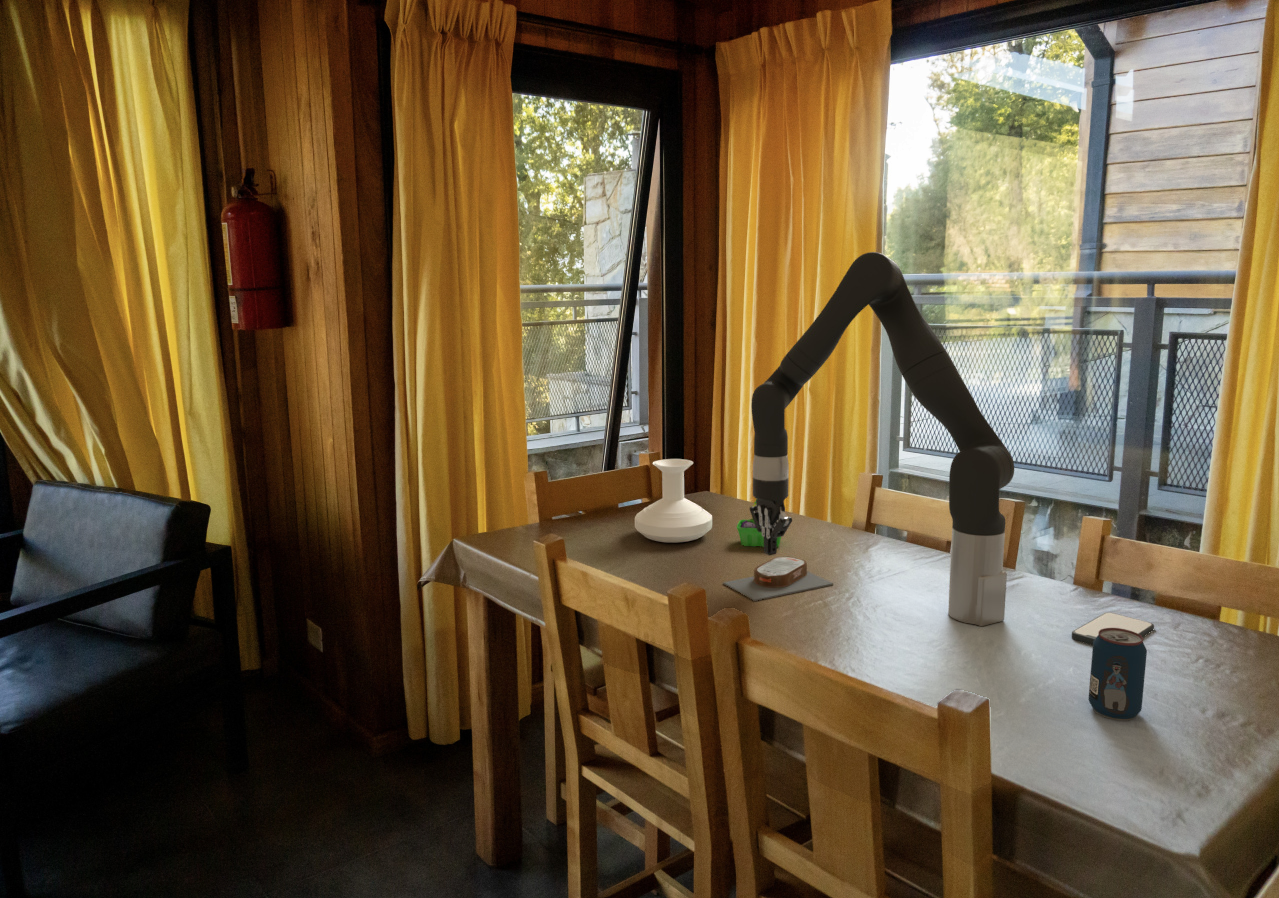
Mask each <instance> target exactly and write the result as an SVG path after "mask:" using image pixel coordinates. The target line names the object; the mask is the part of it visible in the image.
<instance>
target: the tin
mask: <svg viewBox="0 0 1279 898" xmlns="http://www.w3.org/2000/svg"><path fill="white" fill-rule="evenodd" d="M807 568H808V564H807V561H806V559H805V560H804V559H802V558H797V557H791V556H788V555H787V556H777V557H776V556H775V557H774V558H772V559H769V560H767V561H765V562H764V563H762V564H760V565H758V566H755V568H754V569H753V576H754V579H753V581H754V582H755V583H756V584H758V585H760V586H764V587H771V588H780V587H786V586H789V585H791V584H792V583H794V582H796V581H797V580H799V579H801V578H803V577H804V576H806V575H807V571H808V569H807Z"/></svg>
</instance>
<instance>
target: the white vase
mask: <svg viewBox="0 0 1279 898" xmlns="http://www.w3.org/2000/svg"><path fill="white" fill-rule="evenodd" d="M693 464H694V461H692V460H689V459H682V458H667V459H666V458H665V459H659V460H654V461H653V462H652V465H653V466H655V467H656V468H657V469H658V470H659V471H661V475H662V476H661V478H662V480H661V483H662V484H661V485H662V486H661V488H662V498H660V499H658V500H656V501H654V502H653V503H651V504H649V505H648V506H646V507H644V508H643V509H642V510H641V511H639V512H637V513H636V515H635V517H634V529H636V530H637V532H638V533H640V534H641V535H643V536H644V537H645V538H647V539H649V540H651V541H656V542H660V543H661V542H662V543H684V542H685V543H686V542H690V541H694V540H698V539H699V538H701V537H703V536H705V535H706V534H707V533H708V532H709V531H711V530H712V529H713V515H712V514H711V513H710V512H708V511H707V510H705V509H704V508H703V507H702V506H700V505H699V504H697V503H695V502H693V501H691V500H689V499H687V498H686V497H685V476H684V475H685V471H686V470H688V469H689V468H690V467H691V466H692V465H693Z"/></svg>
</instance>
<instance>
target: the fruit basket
mask: <svg viewBox="0 0 1279 898" xmlns="http://www.w3.org/2000/svg"><path fill="white" fill-rule="evenodd" d="M756 500H757V499H756V498H755V501H754V502H753V504H752V507H753V506H755V505H756ZM736 530H737V532H738V535H739V540H740V545H741V546H742V545H744V546H743V547H756V546H760V547H761V546H762V547H763V548H764V537H763V536H762V533H761V532H758V531H757V528H756V525H755V523H754V520H753V517H752V516H751V518H749V519H740V520H739V521H738V523H737V525H736ZM781 539H782V537H778V538H777V548H779V547H780V543H781Z"/></svg>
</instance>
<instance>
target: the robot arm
mask: <svg viewBox="0 0 1279 898" xmlns="http://www.w3.org/2000/svg"><path fill="white" fill-rule="evenodd" d="M838 284H839V285H838V286H837V288H836V290H834V292H833V294H832V296H831V297H830V298H829V300H828V301H827V303H826V304H825V305H824V307H823V309H822V310H821V311H820V312H819V314H818V316H817V317H816V318H815V319H814V321H813V322H812V324H811V325H810V326H809V327H808V328H807V330H806V331H805V332H804V333H803V334H802V335H801V337H800V338H798V340H797V341H796V342H795V344H794V345H793V346H792V347H791V348H790V349H789V351H787V353H786V354H785V355H784V357H783V358H782V360H781V361H780V364H779V366H778V367H777V368H776V369H775V371H773V373H772V374H771V375H770V376H769V377H768V378H767V379H766V380H765V381H764V383H761V384H760V385H758V386H757V387H756V388H755V389H754V391H753V393H752V396H751V417H752V418H751V419H752V424H753V430H754V432H753V433H754V437H753V462H752V497H754V499H755V501H756V505H755V506H753V505H752V506H749V512H750V515H751V518H752V517H753V520H754V523H755V525H756V528H757V531H758V532H761V533H762V536H763V537H764V547H763V553H764V554H765V555H768V556H775V555H776V554H777V548H778V547H777V538H778V537H781V538H782V537H784V536H785V534H786V532H787V530H788V529H789V527H790V526H791V524H792V522H793V519H792V517H791V516H787V514H786V513H785V512H786V506H785V499H787V498H788V497H789V472H790V471H789V469H790V467H789V455H788V454H789V453H788V451H789V442H788V441H789V440H788V439H789V436H788V431H787V429H786V428H785V427H786V426H785V424H786V423H785V418H786V417H785V415H786V414H785V413H786V408H788V406H789V405H790V404H791V403H792V401H793V400H794V399H795V398H796V396H797V395H798V394H799V392H800V391H801V390H802V388H803V387H804V385H805V384H806V383H808V382H809V381H810V380H811V379H812V378H813V376H815V375H816V373H817V372H818V371H819V370H820V369H821V368H822V366H823V365H824V364H825V363H826V361H828V359H829V357H830V356H831V355H832V353H833V352H834V350H835V349H836V347H837V345H838V343H839V341H840V340H841V339H842V336H843V334H844V333H845V331H846V330H847V328H848V327H849V326H850V324H851V323H852V321H854V319H855V318H856V317H857V316H858V315H859V314H860V313H861V312H862V311H863V310H864V309H865V308H866V307H867V306H869V307H870V308H871V309H872V311H873V313H874V314H875V316H876V317H877V318H878V320H879V321H880V323H881V325H882V326H883V329H884V330H885V332H886V334H887V336H888V340H889V343H890V347H891V349H892V353H893V357H894V359H895V363H896V365H897V368H898V369H899V372H900V374H901V375H902V378H903V379H904V381H905V383H906V385H907V387H908V388H909V390H910V392H911V394H912V395H913V396H914V398H915V399H916V400H917V402H919V404H920V405H921V406H922V407H923V408H924V409H925V410H926V411H927V412H928V413H929V414H931V416H933V417H934V418H935V419H936V420H937V421H938V422H939V423H940V424H941V425H942V426H943V427H944V428H945V429H946V430H947V432H948V433H949V435H950V436H951V438H952V440H953V442H954V443H955V446H956V448H957V449H958V451H959V452H958V453H956V455H955V456H954V457H953V459H952V462H951V464H950V467H949V480H948V482H949V483H948V484H949V485H948V487H949V488H948V490H949V491H948V493H949V494H948V496H949V497H948V508H949V513H950V516H951V520H952V521H951V522H952V525H951V526H952V527H951V528H952V529H951V530H952V531H951V543H950V545H951V546H950V548H951V549H950V565H949V566H950V567H949V568H950V569H949V584H948V585H949V586H948V587H949V589H948V611H947V614H948V615H949V616H950V617H951V618H952V619H953V620H956V621H959V622H961V623H964V624H965V623H966V624H970V625H977V626H979V627H984V626H988V625H991V624H995V623H999V622H1004V621H1005V614H1006V613H1005V611H1006V596H1007V579H1008V573H1007V572H1006V571H1004V570H1003V569H1004V568H1003V567H1004V554H1005V553H1004V550H1005V536H1006V534H1005V533H1006V517H1005V516H1004V514H1003V513H1001V512H1000V490H1001V489H1003V488H1004V487H1006V486H1007V485H1009V484H1010V482H1011V481H1012V480H1013V478H1014V474H1015V463H1014V458H1013V457H1012V455H1011V453H1010V451H1009V449H1008V448H1007V446H1006V445H1005V444H1004V442H1002V440H1001V438H1000V437H999V436H998V435H997V433H996V432H995V430H994V429H993V428H992V426H991V425H990V424H989V423H988V421H987V419H986V418H985V416H984V415H983V413H982V412H981V410H980V408H979V407H978V404H977V403H976V401H975V400H974V398H973V395H972V394H971V392H970V390H969V388H968V386H967V384H966V383H965V382H964V379H963V378H962V376H961V374H960V373H959V371H958V370H959V369H957V367H956V365H955V363H954V361H953V360H952V358H951V357H950V355H949V353H948V351H947V350H946V348H945V346H944V345H943V343H942V342H941V341H940V338H939V337H938V336H937V335H936V333H935V331H934V330H933V328H932V327H931V326H930V324H929V323H928V321H927V320H926V319H925V317H924V316H923V315H922V313H921V311H920V310H919V308H918V307H917V304H916V302H915V300H914V297H913V296H912V293H911V291H910V289H909V287H908V284H907V282H906V278H905V277H904V275H903V272H902V270H901V268H900V266H899V265H898V263H896V262H895V261H894V260H892V259H891V258H890V257H888V256H886V255H885V254H883V253H880V252H875V251H870V252H866V253H863V254H861V255H859V256H858V257H856V259H855V260H853V262H852V263H851V264H850V266H849V268H848V270H847V271H846V273H845V274H844V276H843V277H842V279H841V281H840V282H839V283H838ZM756 499H757V500H756Z"/></svg>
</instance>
